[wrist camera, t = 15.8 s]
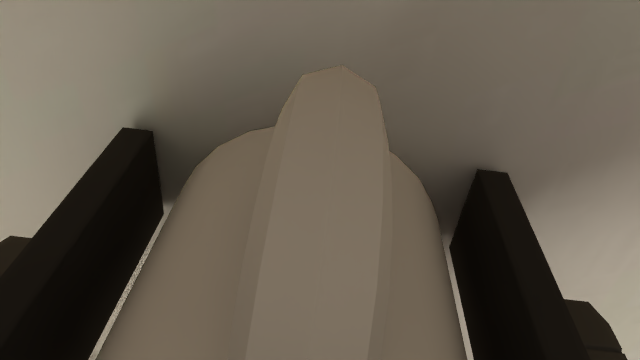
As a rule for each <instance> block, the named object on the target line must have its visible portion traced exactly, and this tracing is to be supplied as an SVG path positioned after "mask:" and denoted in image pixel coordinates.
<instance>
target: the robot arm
mask: <svg viewBox="0 0 640 360" xmlns="http://www.w3.org/2000/svg"><path fill="white" fill-rule="evenodd" d="M163 214H164V211H163V204H162V196H161V189H160V181H159V174H158V166H157V158H156V151H155V143H154V136H153V131H149V130H141V129H132V128H124V127H123V128H122V129H121V130H120V131H119V133H118V134H117V135H116V136H115V137H114V139H113V140H112V141H111V142H110V144H109V145H108V146H107V147H106V148H105V150H104V151H103V152H102V153H101V155H100V156H99V157H98V158H97V159H96V161H95V162H94V163H93V164H92V166H91V167H90V168H89V169H88V170H87V172H86V173H85V174H84V175H83V177H82V178H81V179H80V180H79V181H78V183H77V184H76V185H75V186H74V188H73V189H72V190H71V191H70V192H69V194H68V195H67V196H66V197H65V199H64V200H63V201H62V202H61V203H60V205H59V206H58V207H57V208H56V210H55V211H54V212H53V213H52V214H51V216H50V217H49V218H48V219H47V221H46V222H45V223H44V224H43V225H42V227H41V228H40V229H39V230H38V232H37V233H36V234H35V235H34V236H33V238H25V237H16V236H9V237H8V238H6V239H5V240H3V241H2V242H0V360H88V359H89V357H90V355H91V353H92V351H93V349H94V347H95V345H96V343H97V342H98V340H99V338H100V336H101V334H102V332H103V330H104V328H105V326H106V324H107V322H108V320H109V318H110V316H111V315H112V313H113V311H114V309H115V307H116V305H117V303H118V301H119V299H120V297H121V295H122V293H123V291H124V290H125V288H126V286H127V284H128V282H129V280H130V278H131V276H132V274H133V272H134V270H135V268H136V266H137V264H138V263H139V261H140V259H141V257H142V255H143V253H144V251H145V249H146V247H147V245H148V243H149V241H150V239H151V238H152V236H153V234H154V232H155V230H156V228H157V226H158V224H159V222H160V220H161V218H162V216H163ZM449 249H450V253H451V258H452V262H453V267H454V271H455V276H456V280H457V285H458V289H459V294H460V298H461V303H462V307H463V312H464V317H465V321H466V326H467V330H468V335H469V339H470V344H471V348H472V353H473V357H474V360H627V358H626V356H625V354H622V352H621V351H622V348H621V346H620V344H619V342H618V340H617V338H616V336H615V334H614V333H613V331H612V329H611V327H610V325H609V323H608V322H607V321H606V320H605V319H604V318H603V317H602V316H601V315H600V314H599V313H598V312H597V311H596V310H595V309H594V308H593V306H592V305H591V304H590V303H589V302H584V301H575V300H567V299H563V297H562V294H561V292H560V290H559V288H558V285H557V283H556V281H555V279H554V276H553V274H552V272H551V270H550V267H549V265H548V263H547V261H546V258H545V256H544V254H543V252H542V249H541V247H540V245H539V243H538V240H537V238H536V236H535V234H534V231H533V229H532V227H531V225H530V222H529V220H528V218H527V216H526V213H525V211H524V209H523V207H522V204H521V202H520V200H519V198H518V195H517V193H516V191H515V189H514V186H513V184H512V182H511V180H510V178H509V175H508V173H506V172H497V171H489V170H480V169H477V171H476V174H475V177H474V180H473V183H472V185H471V188H470V191H469V194H468V196H467V199H466V202H465V205H464V207H463V210H462V213H461V216H460V219H459V221H458V224H457V227H456V230H455V232H454V235H453V238H452V241H451V244H450V246H449Z"/></svg>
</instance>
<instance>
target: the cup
mask: <svg viewBox="0 0 640 360" xmlns="http://www.w3.org/2000/svg"><path fill="white" fill-rule="evenodd" d="M96 360H467V356H466V352H465V347H464V342H463V337H462V333H461V328H460V323H459V318H458V313H457V309H456V304H455V299H454V294H453V290H452V285H451V280H450V275H449V270H448V266H447V261H446V256H445V251H444V247H443V242H442V237H441V232H440V227H439V223H438V219H437V216H436V213H435V210H434V207H433V204H432V202H431V200H430V198H429V196H428V194H427V193H426V191H425V189H424V187H423V185H422V183H421V181H420V179H419V178H418V177H417V176H416V175H415V174H414V173H413V172H412V171H411V170H410V169H409V168H408V167H407V166H406V165H405V164H404V163H403V162H402V161H401V160H400V159H399V158H398V157H397V156H396V155H395V154H393V153H391V152H390V151H389V144H388V139H387V134H386V129H385V124H384V119H383V114H382V109H381V104H380V101H379V97H378V94H377V90H376V87H375V86H374V85H372V84H370V83H369V82H367V81H366V80H364V79H363V78H361V77H360V76H358V75H357V74H355V73H354V72H352V71H350V70H349V69H347V68H346V67H344V66H343V65H340V66H335V67H331V68H327V69H323V70H319V71H315V72H311V73H307V74H303V75H302V76H301V78H300V80H299V81H298V83H297V85H296V86H295V88H294V89H293V91H292V93H291V94H290V96H289V98H288V99H287V101H286V103H285V104H284V106H283V108H282V110H281V113H280V115H279V118H278V120H277V123H276V126H274V127H269V128H264V129H259V130H253V131H249V132H247V133H245V134H243V135H241V136H238V137H236V138H234V139H232V140H230V141H228V142H226V143H224V144H222V145H220V146H218V147H217V148H216V149H215V150H214V151H213V152H211V153H210V154H209V155H208V156H207V157H206V158H205V159H204V160H203V161H202V162H201V163H199V164H198V165H197V166H196V167H195V169H194V170H193V172H192V173H191V175H190V177H189V178H188V180H187V181H186V183H185V185H184V187H183V188H182V190H181V192H180V194H179V196H178V198H177V200H176V202H175V204H174V205H173V207H172V209H171V211H170V213H169V215H168V217H167V219H166V221H165V223H164V225H163V227H162V229H161V231H160V233H159V235H158V237H157V239H156V241H155V243H154V245H153V247H152V249H151V251H150V253H149V255H148V257H147V259H146V261H145V263H144V265H143V267H142V269H141V271H140V273H139V275H138V277H137V279H136V281H135V283H134V285H133V287H132V289H131V291H130V293H129V294H128V296H127V298H126V300H125V302H124V304H123V306H122V308H121V310H120V312H119V314H118V316H117V318H116V320H115V322H114V324H113V326H112V328H111V330H110V332H109V334H108V336H107V338H106V340H105V342H104V344H103V346H102V348H101V350H100V352H99V354H98V356H97V358H96Z"/></svg>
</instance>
